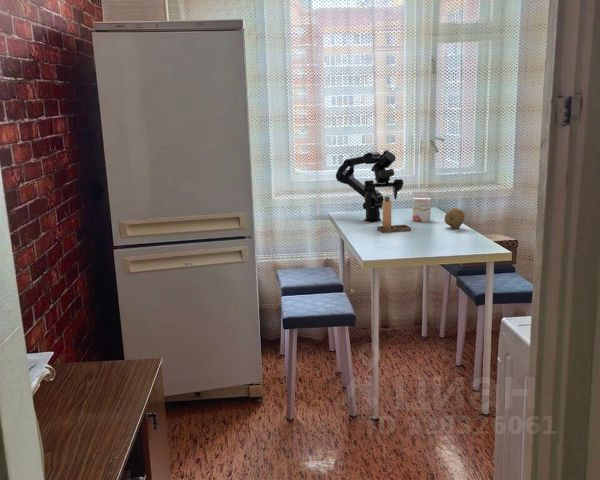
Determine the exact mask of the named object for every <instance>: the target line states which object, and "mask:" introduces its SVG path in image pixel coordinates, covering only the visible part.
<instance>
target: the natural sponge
mask: <svg viewBox="0 0 600 480" xmlns="http://www.w3.org/2000/svg"><path fill="white" fill-rule="evenodd" d="M465 215H466V214H465V213H464V212H463V210H462V209H460V208H456V207H455V208H454V207H453V208H451V209H449V210H447V212H446V213H445V215H444V223H445V224H446V225H448V226H449V227H451V229H455V230H457V229H459V228H460V227H461V226H462V225H463V223H464V221H465Z"/></svg>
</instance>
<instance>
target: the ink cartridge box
mask: <svg viewBox="0 0 600 480" xmlns="http://www.w3.org/2000/svg"><path fill="white" fill-rule="evenodd" d="M431 205H432V198H431V192H430V191H425V190H422V191H416V190H415V191H413V198H412V222H416V223H430V222H431V211H432V210H431V207H432V206H431Z"/></svg>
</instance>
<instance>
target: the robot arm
mask: <svg viewBox="0 0 600 480" xmlns="http://www.w3.org/2000/svg"><path fill="white" fill-rule="evenodd" d="M395 161H396V155H395V154H393V152H391V151H389V150H388V149H386V150H384V151H383V153H382V154H381V153H380V151H371V152H366V153H364V154H363V155H362V156H358V157H353V158H346V159H344V161H343V163H342V164H341V165H340V166H339V167H338V169H337V171H336V173H335V179H336V181H337V182H339V183H341V184H344V185H348V186H349V187H350V188H352V189H353V190H354V191H355V192H357V194H359V195H360V196H361V197H363V198H364V202H363V204H362V208H363V210H365V218H364V219H363V221H365V222H372V223H375V222H378V221H382V218H381V212H380V209H383V201H384V196H383V194H382V192H379V191H378V189H376V188H392V193H393V198H394V200H397V198H398V196H397V195H398V192H399V191H401V190H402V188H403V187H404V180H403V179H401V178H400V179H398V178H396V179H394V180H393V182H389V181H391V179H390V177H393V176H394V175H395V171H394V168H390V166H391V165H392V164H393V163H394V162H395ZM363 164H364V165H372V164H374V165H372V167H371V170H370V171H371V172H373V173H374V180H375V182H374V180H364V184H363V183H362V182H360V180H358V179H356V178H355V175H354V173H355V166H358V165H363ZM387 168H390V169H387Z"/></svg>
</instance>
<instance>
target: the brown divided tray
mask: <svg viewBox="0 0 600 480" xmlns="http://www.w3.org/2000/svg"><path fill="white" fill-rule="evenodd" d="M376 230H377V231H379V232H380V233H381V234H388V233H401V232H412V231H411V230H412V227H411V226H408V225H406V224H395V225H391V229H383V225H382V226H377V227H376Z"/></svg>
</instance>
